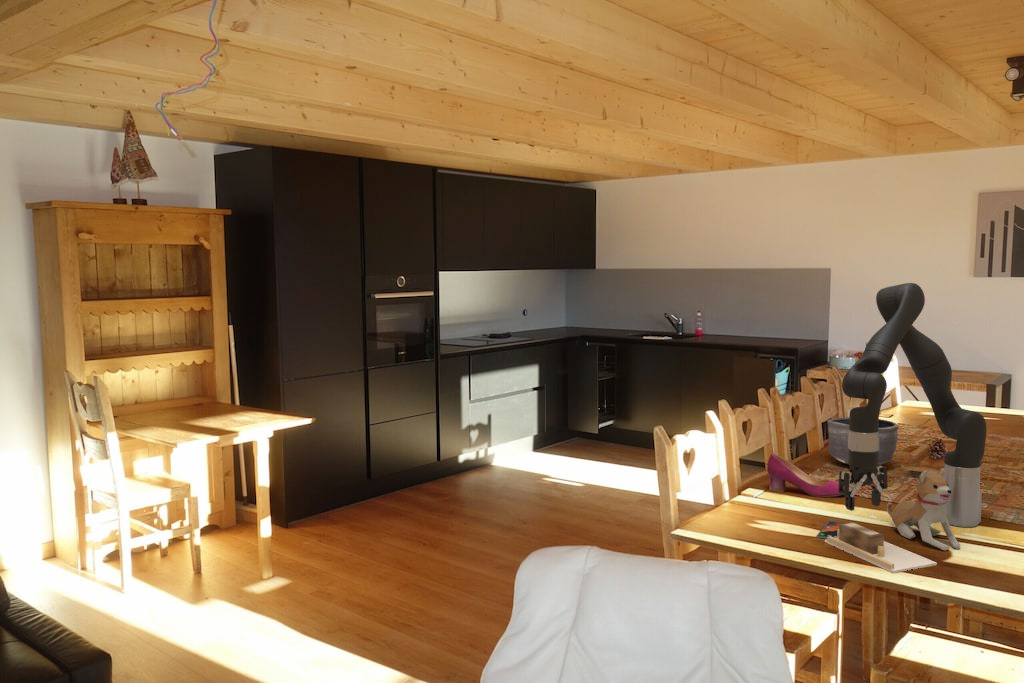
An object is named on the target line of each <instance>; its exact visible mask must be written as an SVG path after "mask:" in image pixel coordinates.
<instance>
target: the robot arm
mask: <svg viewBox="0 0 1024 683" xmlns="http://www.w3.org/2000/svg"><path fill="white" fill-rule="evenodd" d="M875 302H876V305H877V306H876V307H877V309H878V312H879V314H880V315H881V317H882V319H883V320H884V322H885V324H884V325H883V326H882V327H881V328H879V329H878V330H877V331H876V332H875V333H874V334H873V335H872V336H871V337H870V338H869V341H868V342H867V343H866V346H865V348H864V351H863V352H862V355H861V357H859V359H857V361H856V362H855V363H854V364H853V365H852V366H851V367H850V368H849V369H848V370H847V371H846V373H845V374H844V376H843V379H842V382H841V388H842V389H841V390H842V391H843V394H844V395H845V396H847V397H849V398H853V399H861V400H867V404H866V406H857V407H852V408H851V409H850V410H849V414H848V415H849V436H848V463H849V470H848V471H843V470H840V471H839V473H838V474H839V475H838V483H839V488H838V492H839V493H840V494H843V495H842V496H844V499H845V500H844V506H845V509H846V510H849V511H851V512H852V511H855V502H856V501H855V500H856V499H855V498H856V497H855V494H856V492H857V491H859V490H860V489H861V487H865V486H869V487H870V488H871V497H870V498H871V499H870V500H871V505H872V506H875V507H879V506H880V504H881V501H882V500H881V499H882V496H881V495H882V492H883V490H884V489H885V490H887V489H888V488H889V487H888V468H887V467H886V466H882V465H879V432H878V427H879V419H880V418H879V417H880V412H881V407H882V404H883V401H884V398H885V396H886V392H887V388H888V385H887V380H886V378H885V376H884V375H883V374H884V373H885V372H887V370H888V369H889V366H890V364H891V362H892V359H893V357H894V355H895V352H896V350H897V349H898V346H899V345H900V347H901V349H902V352H904V356H906V359H907V361H908V363H909V365H910V367H911V369H912V371H913V373H914V375H915V377H916V379H917V380H918V382H919V383H920V386H921V388H922V390H923V392H924V394H925V396H926V397H927V399H928V400H927V401H928V402H929V405H930V406H931V409H932V411H933V414H934V417H935V420H936V422H937V425H938V428H939V429H940V431H941V433H942V434H943V435H945V436H946V437H947V438H949V439H952V440H954V441H955V442H956V444H955V449H954V450H951V451H947V452H946V453H944V456H943V462H944V463H943V468H944V470H945V476H944V479H945V480H946V482H947V484H948V485H949V486H948V487H949V489H950V490H951V494H950V499H949V500H948V501H947V502H946V517H947V520H948V523H949V525H950V526H956V527H959V528H960V527H963V528H973V527H977V526H978V525H979V524H981V523H982V521H981V519H982V500H983V499H982V498H983V497H982V496H983V492H982V490H980V488H981V487H980V485H981V465H982V464H981V463H982V460H983V459H984V456H985V450H986V441H987V440H986V439H987V422H986V419H985V417H984V416H983V415H982V414H981V413H979V412H977V411H973V410H969V409H965V408H962V407H961V406H960V404H959V403H958V401H957V400H956V398H955V396H954V394H953V392H952V388H951V386H952V385H951V384H952V378H953V370H952V367H951V363H950V361H949V360H948V358H947V356H946V354H945V352H944V350H943V348H942V347H941V346H940V345H939V344H938V343H937V342H935V341H934V340H933V339H931V338H929V337H928V336H926V335H925V334H924V333H923V332H921V331H919V330H918V329H917V328H915V326H914V325H913V324H914V323H915V321H916V320H917V318H919V316H920V315H921V313H922V311H923V310H924V307H925V302H926V298H925V293H924V290H923V289H922V287H921V286H920V285H919V284H917V283H914V282H906V283H901V284H900V283H899V284H897V285H896V284H895V285H891V286H886V287H883V288H880V289H879V290H878V291H877V293H876V296H875ZM843 487H844V490H843Z"/></svg>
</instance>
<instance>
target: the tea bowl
mask: <svg viewBox="0 0 1024 683" xmlns="http://www.w3.org/2000/svg"><path fill="white" fill-rule="evenodd" d="M826 422H827V432H828V433H827V434H828V453H829V455H830V456H832V457H833V458H834V459H836V460H837V461H839V462H841V463H844V464H847V465H849V463H848V436H849V417H836V418H835V417H834V418H830V419H829V418H828V420H827V421H826ZM898 429H899V425H898V424H897V423H896V422H894V421H890V420H886V419H881V418H879V427H878V432H879V465H880V466H882V465H884V464H887V463H889V462H890V461H892V460H893V456H894V454H895V451H896V449H897V443H898V438H899V437H898V436H899V435H898ZM849 466H850V465H849Z"/></svg>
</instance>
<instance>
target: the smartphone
mask: <svg viewBox="0 0 1024 683" xmlns="http://www.w3.org/2000/svg"><path fill="white" fill-rule="evenodd" d="M845 523H846V522H842V521H836V520H828V522H827V523H826V524H825V525H823V528H821V530H820V531H819V532H818V533H817V534H816V538H817V537H818V538H819V539H824V540H827V537H829V536H831V537H834V538H837V530H838V529H839V524H845ZM818 538H817V539H818Z"/></svg>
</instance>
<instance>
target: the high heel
mask: <svg viewBox="0 0 1024 683" xmlns="http://www.w3.org/2000/svg"><path fill="white" fill-rule="evenodd" d="M766 469H767V474H768V478H769V490H771V491H774V492H780V493H781V492H782V493H784V492H785V490H787V489H786V488H787V486H786V482H788V483H789V484H791V485H793V486H795V487H796V488H798V489H799V490H801V491H802V492H804V493H806V494H807V495H810V496H813V497H816V498H827V497H829V498H832V497H839V496H844V495H843V494H840V493H839V492H838V488H839V482H837V481H833V480H831V479H819V478H816V477H813V476H811V475H809V474H808V473H806V472H804V471H803V470H802V469H800V468H799V467H797V466H796V465H794V464H793V463H791V462H790V461H788V459H785V458H784V457H782V456H780V455H778V454H776V453H774V452H772V453H771V454H770V456H769V457H768V461H767V468H766ZM843 490H844V487H843Z"/></svg>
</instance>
